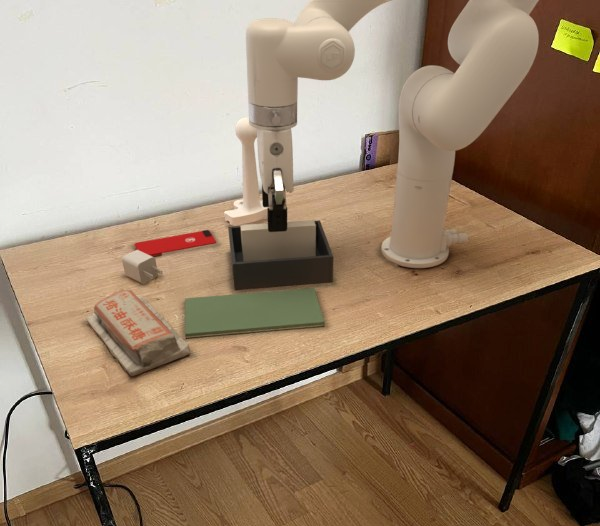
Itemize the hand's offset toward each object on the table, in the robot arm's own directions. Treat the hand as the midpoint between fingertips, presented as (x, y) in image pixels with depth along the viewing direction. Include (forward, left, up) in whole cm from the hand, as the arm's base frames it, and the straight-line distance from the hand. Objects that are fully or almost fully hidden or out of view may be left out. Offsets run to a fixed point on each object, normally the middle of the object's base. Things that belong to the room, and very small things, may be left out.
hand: (274, 218), depth 106 cm
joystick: (+3, -23, -10) cm, 25 cm away
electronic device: (+18, -12, -10) cm, 24 cm away
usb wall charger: (+23, 0, -10) cm, 26 cm away
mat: (+5, +14, -10) cm, 18 cm away
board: (-1, 0, -9) cm, 9 cm away
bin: (-1, 0, -10) cm, 10 cm away
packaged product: (+24, +18, -10) cm, 32 cm away
